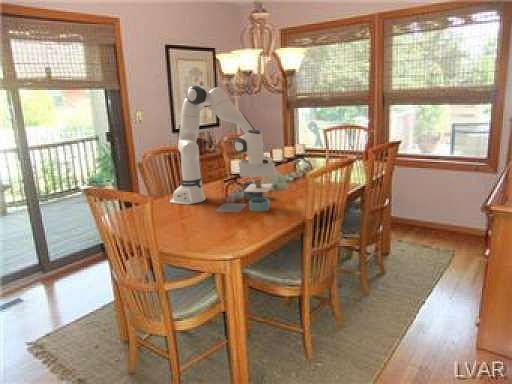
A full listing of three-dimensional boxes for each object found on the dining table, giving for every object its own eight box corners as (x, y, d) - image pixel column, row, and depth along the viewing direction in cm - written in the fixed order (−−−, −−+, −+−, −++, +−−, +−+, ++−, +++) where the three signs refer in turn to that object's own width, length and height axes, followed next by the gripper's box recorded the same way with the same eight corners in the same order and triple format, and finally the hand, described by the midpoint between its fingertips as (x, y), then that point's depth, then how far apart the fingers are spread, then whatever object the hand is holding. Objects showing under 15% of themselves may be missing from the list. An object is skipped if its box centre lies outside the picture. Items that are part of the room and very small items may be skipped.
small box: (262, 197, 247) (261, 180, 244) (262, 200, 241) (260, 183, 238) (246, 197, 248) (244, 181, 245) (244, 200, 242) (243, 184, 239)
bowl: (247, 211, 221) (246, 203, 219) (253, 205, 231) (252, 197, 230) (266, 212, 218) (266, 203, 216) (271, 206, 228) (270, 197, 226)
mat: (214, 212, 224) (214, 211, 224) (224, 204, 238) (223, 203, 238) (239, 212, 220) (239, 212, 220) (247, 204, 234) (247, 203, 234)
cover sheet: (244, 191, 217) (243, 183, 216) (250, 185, 229) (250, 177, 228) (267, 191, 213) (266, 183, 212) (272, 185, 225) (272, 176, 224)
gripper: (236, 161, 217) (238, 185, 221) (272, 160, 211) (274, 185, 215) (240, 159, 223) (242, 182, 226) (275, 158, 217) (277, 182, 221)
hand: (258, 184), depth 221 cm, fingers closed on cover sheet, 3 cm apart
